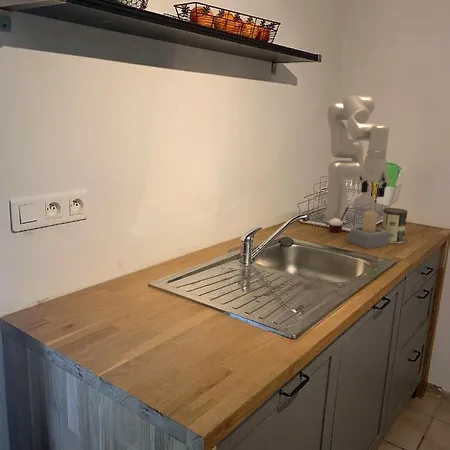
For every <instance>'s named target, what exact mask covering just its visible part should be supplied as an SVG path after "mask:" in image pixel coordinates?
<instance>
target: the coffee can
mask: <svg viewBox="0 0 450 450" xmlns="http://www.w3.org/2000/svg"><path fill="white" fill-rule="evenodd" d="M382 211H383V212H382V213H383V214H382V223H381V230H384V231H387V232H388V233H387V234H389V239H388V244H404V242H405V235H406V225H407V219H408V217H407V216H408V212H409V211H408V210H406V209H403V208H398V207H397V208H396V207H385V208H383V210H382Z"/></svg>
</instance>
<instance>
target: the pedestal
mask: <svg viewBox="0 0 450 450" xmlns="http://www.w3.org/2000/svg"><path fill="white" fill-rule="evenodd" d="M362 229H363V226H359V227H356V226H355V227H351V228H350V230H349V231H348V238H347V239H348V240H347V242H348V243H350V244H354V245H357V246H360V247H362V248H365V249H374V248H380V247H386V246H389V243H388V239H389V234H387V233H388V232H387V231H384V230H382V228H377V227H376V230H375V233H366V232H363V231H362Z"/></svg>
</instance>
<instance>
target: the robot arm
mask: <svg viewBox="0 0 450 450" xmlns="http://www.w3.org/2000/svg"><path fill="white" fill-rule="evenodd" d="M375 104H376V101H375V100H374V98H373V97H372V96H370V95H359V94H358V95H356V94H355V95H353V94H352V95H348V96H346V97H345V98H344V100H343V101H342V102H341V101H340V102H334V103H331V104H330V105H329V106H328V108H327V112H326V113H327V123H328V126H329V129H330V153H331V156H332V157H333V158H336V159H351V160H333V161H331V162H330V163H329V165H328V167H327V169H328V170H327V171H328V172H327V173H328V190H327V191H328V192H327V203H326V204H327V205H326V210H325V211H323V212H322V215H323V216H324V217H323V218H322V221H323V220H324V221H327V222H329V221H330V220H332V219H334V218H337V219H339V220H341V218H342V216H343V214H344V212H345V210H346V208H347V201H348V191H349V190H348V189H349V188H348V186H347V184H346V183H345V181H347V180H348V181H349V180H351V181H352V180H353V181H354V180H360V184H361V186H360V187H361V188H360V192H361V193H362V194H363V193H368V189H369V188H368V187H369V182H370V183H376V184H378V186H379V187H378V189H377V198H383V197H385V190H386V188H387V187H388V186H389V183H390V182H391V180H392V179H391V177H390V176H388V174H387V171H388V170H387V169H388V167H387V166H388V163H387V162H388V161H387V158H386V157H387V150H388V141H389V133H390V127H389V126H387V125H384V124H381V123H372V122H367V121H368V120H369V118H370V115H371V114H372V113H373V112H374V111H375V107H376V105H375ZM343 121H347V123H346V124H345V123H344V122H343ZM349 135H350V137H351V138H349ZM363 141H365V142H366V141H367V142H368V147H367V150H366V154H367V155H366V157H365V159H364V145H363V143H362V142H363ZM345 219H346V214H345V215H344V217H343V220H342V222H344V221H345ZM324 221H323V222H324Z"/></svg>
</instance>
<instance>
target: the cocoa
mask: <svg viewBox="0 0 450 450" xmlns="http://www.w3.org/2000/svg"><path fill="white" fill-rule="evenodd" d="M348 209H349V207H348V206H346V210H345V212H344V214H343V216H342V218H341V220H339V219H337V218H334V219H332V220H330V221H329V223H326V225H325V227H326V229H327V230H329V231H330V232H332V233H339V232H342V228H343V225H344V224H343V222H342V220H343V217H344V215H345V216H346V213H347V211H348Z"/></svg>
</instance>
